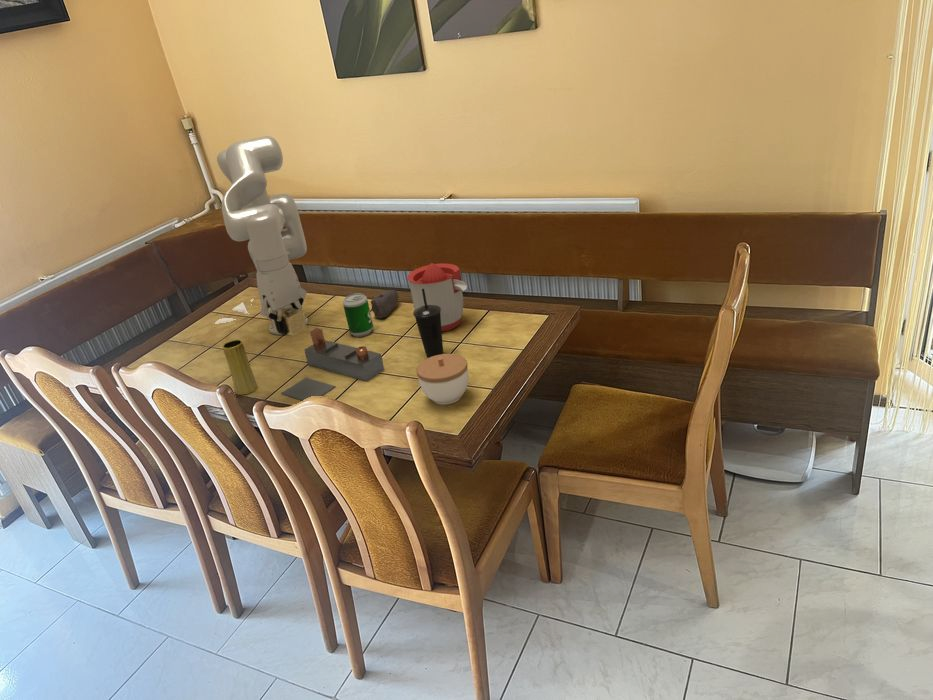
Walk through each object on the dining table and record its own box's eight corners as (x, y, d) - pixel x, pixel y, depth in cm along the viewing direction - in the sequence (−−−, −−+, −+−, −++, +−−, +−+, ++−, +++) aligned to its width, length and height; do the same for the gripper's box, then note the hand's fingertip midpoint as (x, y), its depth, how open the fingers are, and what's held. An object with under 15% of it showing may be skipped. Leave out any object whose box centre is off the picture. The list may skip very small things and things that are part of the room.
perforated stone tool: (392, 302, 243) (388, 283, 240) (406, 302, 241) (402, 283, 237) (369, 321, 231) (364, 301, 228) (383, 322, 229) (378, 302, 226)
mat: (281, 394, 195) (281, 392, 195) (306, 378, 201) (305, 377, 201) (310, 403, 188) (310, 402, 188) (335, 387, 194) (335, 386, 194)
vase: (238, 386, 203) (223, 340, 197) (259, 382, 203) (245, 337, 197) (233, 396, 198) (218, 350, 191) (255, 393, 198) (241, 346, 191)
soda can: (369, 337, 220) (361, 301, 214) (346, 338, 222) (338, 302, 216) (377, 326, 226) (369, 291, 221) (355, 327, 228) (346, 292, 223)
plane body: (308, 365, 209) (299, 334, 204) (325, 354, 213) (317, 324, 209) (366, 381, 195) (359, 348, 190) (384, 369, 199) (377, 337, 195)
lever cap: (276, 331, 187) (270, 311, 184) (290, 323, 190) (284, 303, 187) (293, 335, 183) (287, 314, 180) (307, 327, 186) (301, 307, 183)
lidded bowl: (414, 408, 178) (406, 369, 173) (434, 383, 188) (427, 345, 183) (461, 412, 173) (454, 372, 168) (479, 386, 184) (473, 347, 179)
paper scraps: (221, 335, 240) (219, 329, 239) (194, 331, 247) (192, 325, 246) (276, 303, 259) (274, 298, 258) (249, 300, 266) (248, 294, 265)
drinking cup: (452, 348, 205) (441, 283, 196) (442, 361, 198) (430, 294, 190) (427, 348, 207) (415, 283, 199) (417, 360, 201) (404, 294, 192)
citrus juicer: (462, 337, 211) (452, 273, 202) (408, 335, 217) (396, 273, 208) (479, 314, 224) (470, 253, 215) (428, 313, 230) (418, 254, 221)
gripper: (289, 249, 186) (306, 313, 194) (235, 273, 175) (256, 340, 183) (308, 252, 182) (325, 317, 190) (254, 277, 170) (274, 345, 178)
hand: (291, 328), depth 186 cm, fingers closed on lever cap, 4 cm apart
